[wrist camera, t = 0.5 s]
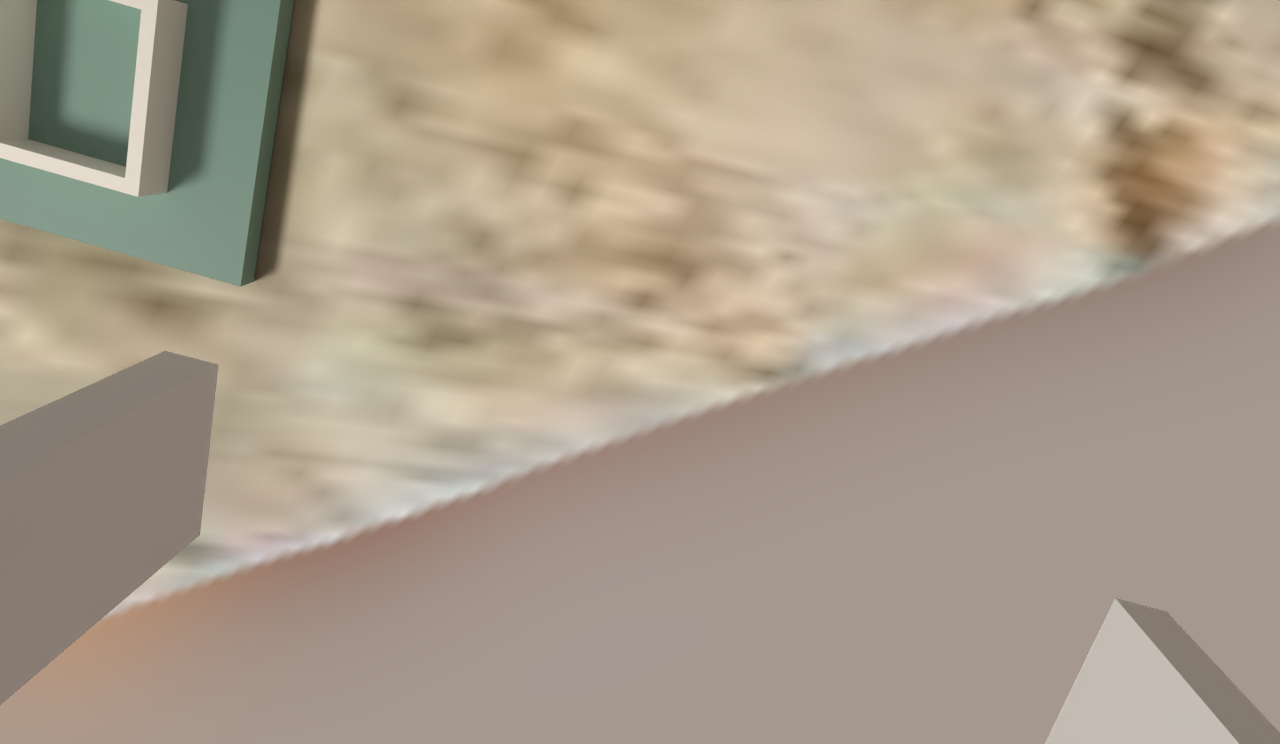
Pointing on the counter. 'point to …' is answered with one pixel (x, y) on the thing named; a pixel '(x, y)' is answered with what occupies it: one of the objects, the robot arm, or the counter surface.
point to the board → (143, 125)
